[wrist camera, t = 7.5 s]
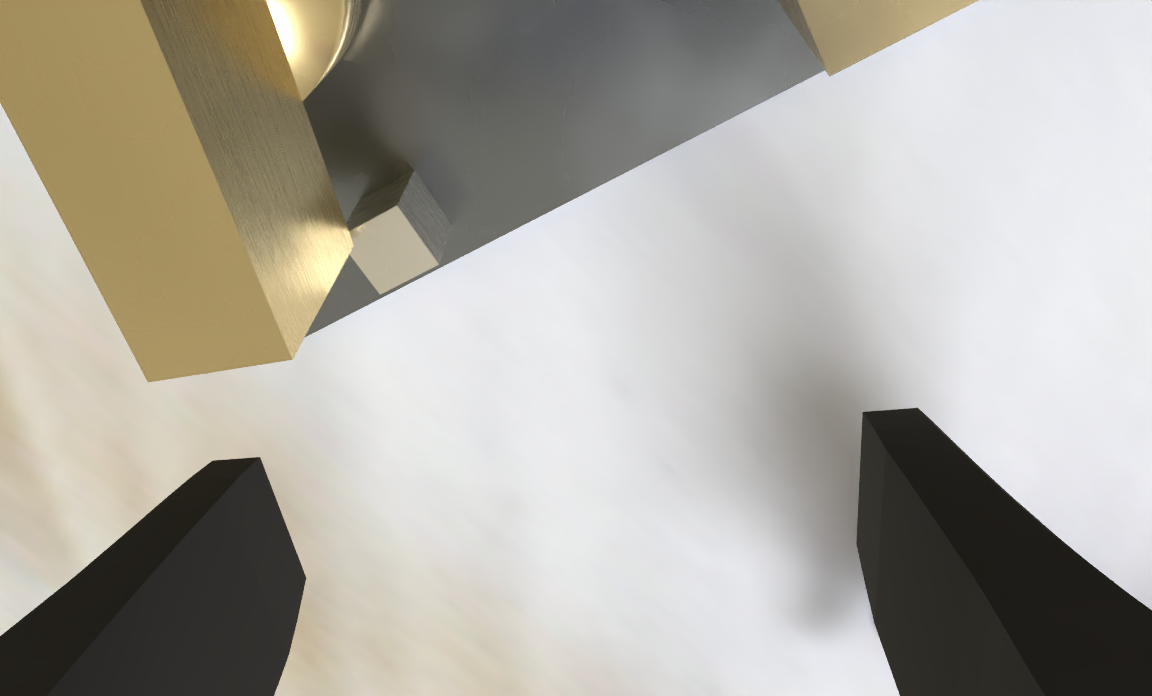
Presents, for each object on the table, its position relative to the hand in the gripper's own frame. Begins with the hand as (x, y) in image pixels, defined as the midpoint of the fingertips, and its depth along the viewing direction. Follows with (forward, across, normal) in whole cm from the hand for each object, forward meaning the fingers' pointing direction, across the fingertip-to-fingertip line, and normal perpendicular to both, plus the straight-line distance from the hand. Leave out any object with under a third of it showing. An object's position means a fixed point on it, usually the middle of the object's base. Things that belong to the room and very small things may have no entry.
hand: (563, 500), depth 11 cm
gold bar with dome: (+9, +6, -5) cm, 12 cm away
